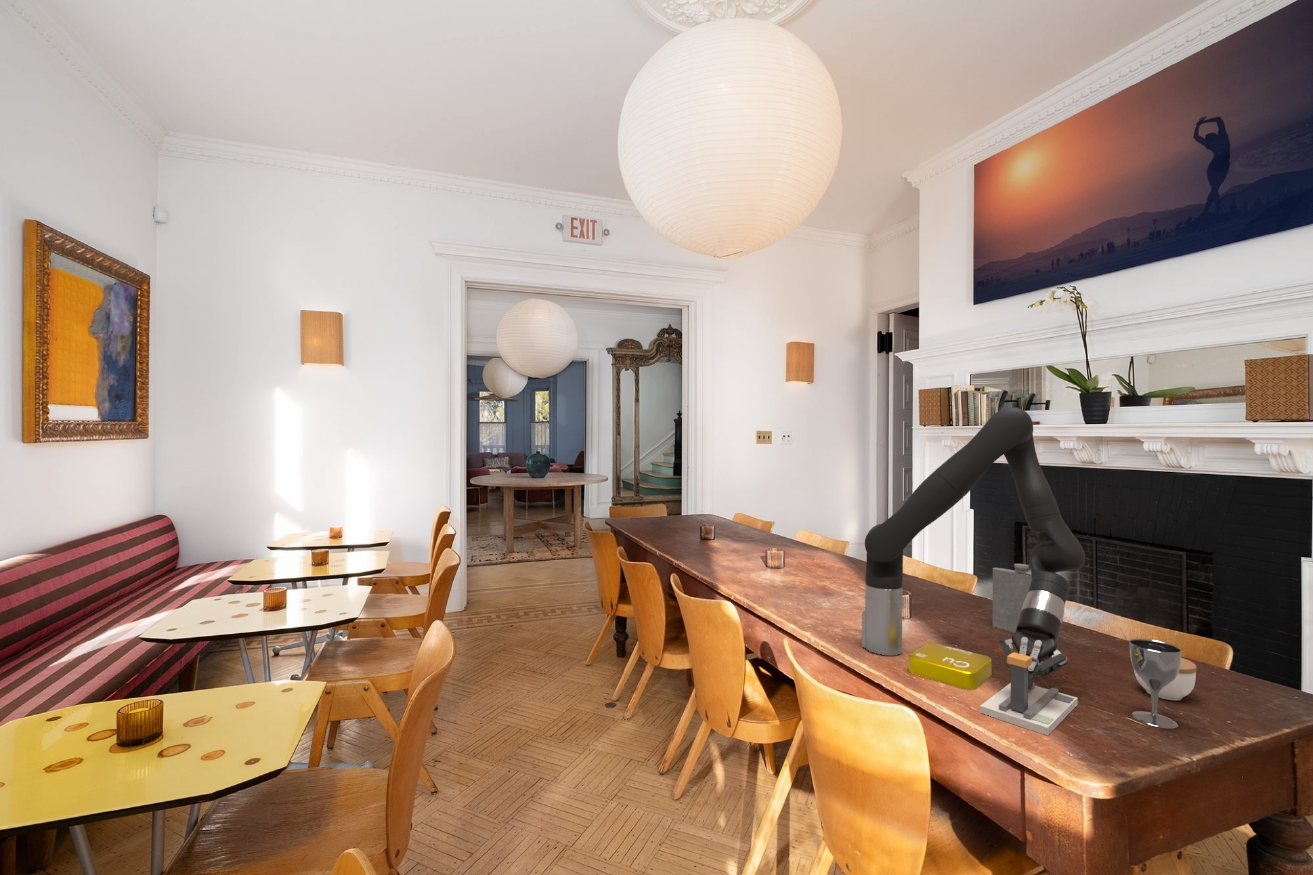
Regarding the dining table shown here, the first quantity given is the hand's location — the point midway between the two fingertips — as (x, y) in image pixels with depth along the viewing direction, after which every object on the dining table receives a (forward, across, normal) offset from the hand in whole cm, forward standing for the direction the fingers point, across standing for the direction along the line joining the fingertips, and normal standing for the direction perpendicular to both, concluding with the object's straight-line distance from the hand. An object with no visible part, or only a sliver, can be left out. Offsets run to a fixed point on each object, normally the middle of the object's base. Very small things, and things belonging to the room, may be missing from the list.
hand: (1022, 689), depth 119 cm
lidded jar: (-21, +17, +29) cm, 40 cm away
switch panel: (+1, 0, +7) cm, 7 cm away
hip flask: (-36, -18, +45) cm, 60 cm away
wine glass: (-9, +18, +17) cm, 26 cm away
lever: (+4, 0, +1) cm, 4 cm away
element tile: (-4, -19, +12) cm, 23 cm away
